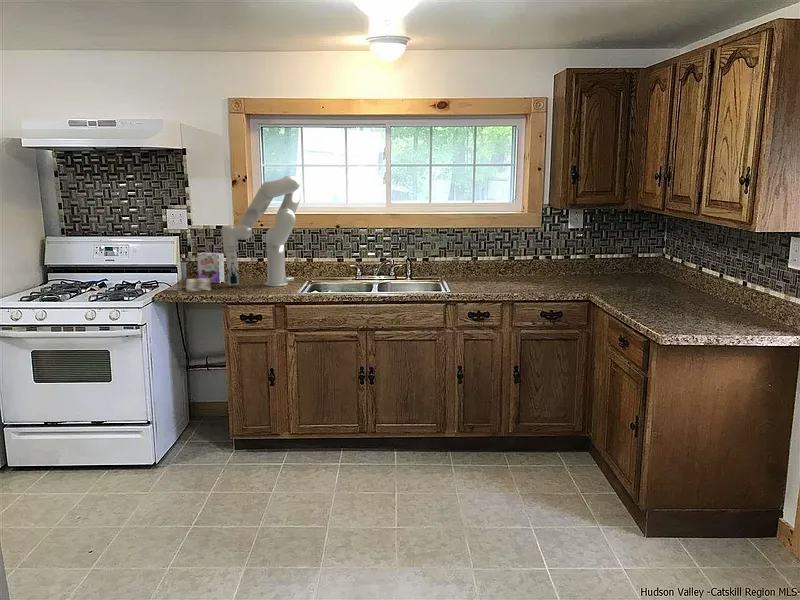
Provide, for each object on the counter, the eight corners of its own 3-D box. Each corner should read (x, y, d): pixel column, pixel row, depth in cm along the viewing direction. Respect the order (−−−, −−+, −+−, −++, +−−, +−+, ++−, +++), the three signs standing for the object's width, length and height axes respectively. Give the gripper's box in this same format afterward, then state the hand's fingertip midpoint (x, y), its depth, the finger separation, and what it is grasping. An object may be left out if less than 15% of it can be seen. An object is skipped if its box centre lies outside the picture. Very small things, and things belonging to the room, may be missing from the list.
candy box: (197, 282, 365) (196, 253, 362) (203, 281, 370) (202, 252, 367) (219, 283, 361) (218, 254, 358) (225, 282, 366) (223, 253, 363)
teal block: (237, 283, 353) (236, 272, 352) (238, 284, 349) (237, 273, 347) (228, 283, 351) (227, 272, 350) (229, 285, 347) (228, 274, 346)
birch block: (210, 287, 352) (210, 278, 351) (210, 291, 340) (210, 281, 339) (187, 288, 348) (186, 278, 347) (186, 292, 337) (186, 282, 336)
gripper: (240, 250, 340) (242, 284, 343) (236, 246, 355) (238, 279, 359) (225, 251, 337) (227, 285, 341) (222, 247, 353) (224, 281, 356)
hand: (233, 282), depth 350 cm, fingers closed on teal block, 5 cm apart
